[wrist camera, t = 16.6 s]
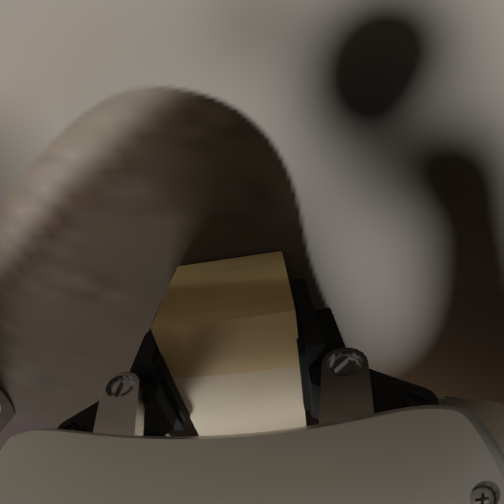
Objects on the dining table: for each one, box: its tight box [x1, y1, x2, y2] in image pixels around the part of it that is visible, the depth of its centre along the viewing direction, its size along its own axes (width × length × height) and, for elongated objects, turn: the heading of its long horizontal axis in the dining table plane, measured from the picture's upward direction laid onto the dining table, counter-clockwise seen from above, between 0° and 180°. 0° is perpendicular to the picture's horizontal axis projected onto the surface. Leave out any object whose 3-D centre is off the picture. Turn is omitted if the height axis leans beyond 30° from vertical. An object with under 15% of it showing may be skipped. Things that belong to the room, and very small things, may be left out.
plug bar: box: [151, 251, 306, 436], centre depth 13 cm, size 13×4×4 cm, turn 9°
